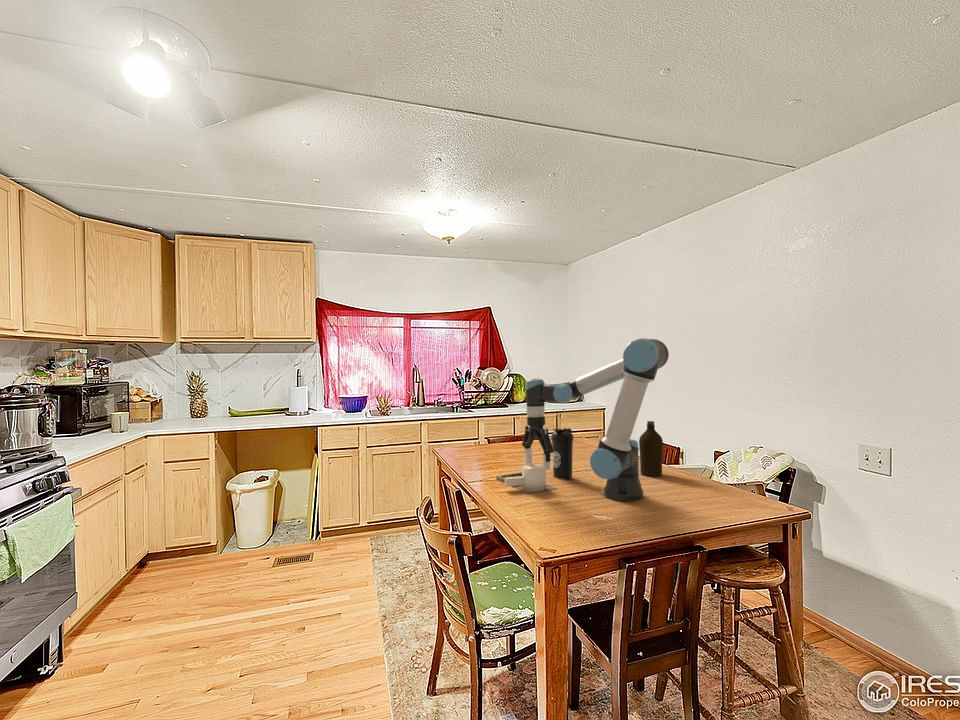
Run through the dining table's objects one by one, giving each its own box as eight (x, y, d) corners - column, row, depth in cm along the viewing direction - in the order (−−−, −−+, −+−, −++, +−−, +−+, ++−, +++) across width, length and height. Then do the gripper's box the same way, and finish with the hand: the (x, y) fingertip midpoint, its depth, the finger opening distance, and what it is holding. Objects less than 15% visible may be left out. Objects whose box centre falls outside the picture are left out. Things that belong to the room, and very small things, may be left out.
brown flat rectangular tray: (558, 491, 198) (557, 485, 198) (527, 496, 191) (527, 491, 191) (523, 476, 222) (523, 471, 222) (495, 481, 215) (495, 475, 215)
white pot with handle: (541, 484, 206) (541, 463, 205) (549, 490, 196) (549, 469, 196) (502, 487, 202) (502, 466, 202) (509, 494, 192) (508, 472, 192)
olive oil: (666, 477, 218) (665, 423, 217) (642, 477, 219) (641, 423, 218) (659, 471, 228) (659, 419, 228) (637, 471, 229) (636, 419, 229)
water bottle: (547, 476, 222) (546, 427, 221) (565, 474, 226) (564, 426, 226) (559, 482, 212) (559, 430, 212) (578, 479, 217) (577, 429, 216)
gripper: (561, 417, 190) (563, 470, 190) (527, 412, 212) (529, 460, 212) (545, 419, 187) (547, 473, 187) (513, 414, 209) (514, 462, 209)
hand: (537, 466), depth 199 cm, fingers open, 13 cm apart
